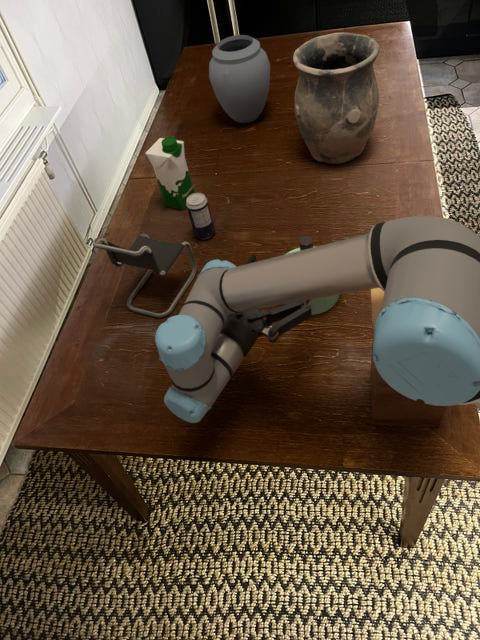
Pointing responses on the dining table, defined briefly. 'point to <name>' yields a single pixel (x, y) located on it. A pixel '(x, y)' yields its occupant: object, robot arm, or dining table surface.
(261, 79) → the vase
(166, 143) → the milk carton
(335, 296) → the green round bowl
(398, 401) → the stand
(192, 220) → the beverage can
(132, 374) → the dining table surface
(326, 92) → the clay pot
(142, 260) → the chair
